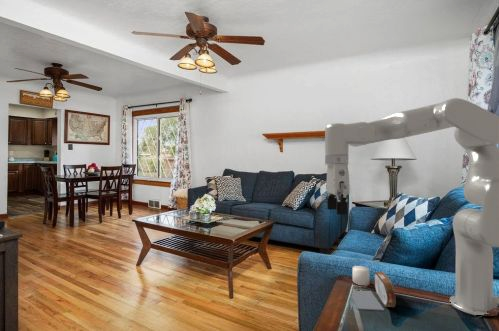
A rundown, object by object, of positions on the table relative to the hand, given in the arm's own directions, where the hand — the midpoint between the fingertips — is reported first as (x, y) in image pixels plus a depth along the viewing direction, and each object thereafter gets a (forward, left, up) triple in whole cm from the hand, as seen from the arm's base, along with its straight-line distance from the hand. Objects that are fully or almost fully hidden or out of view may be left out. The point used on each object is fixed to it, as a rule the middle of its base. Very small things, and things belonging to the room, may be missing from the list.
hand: (336, 211), depth 97 cm
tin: (-16, -2, -30) cm, 34 cm away
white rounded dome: (-12, -15, -30) cm, 36 cm away
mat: (-10, -2, -30) cm, 32 cm away
